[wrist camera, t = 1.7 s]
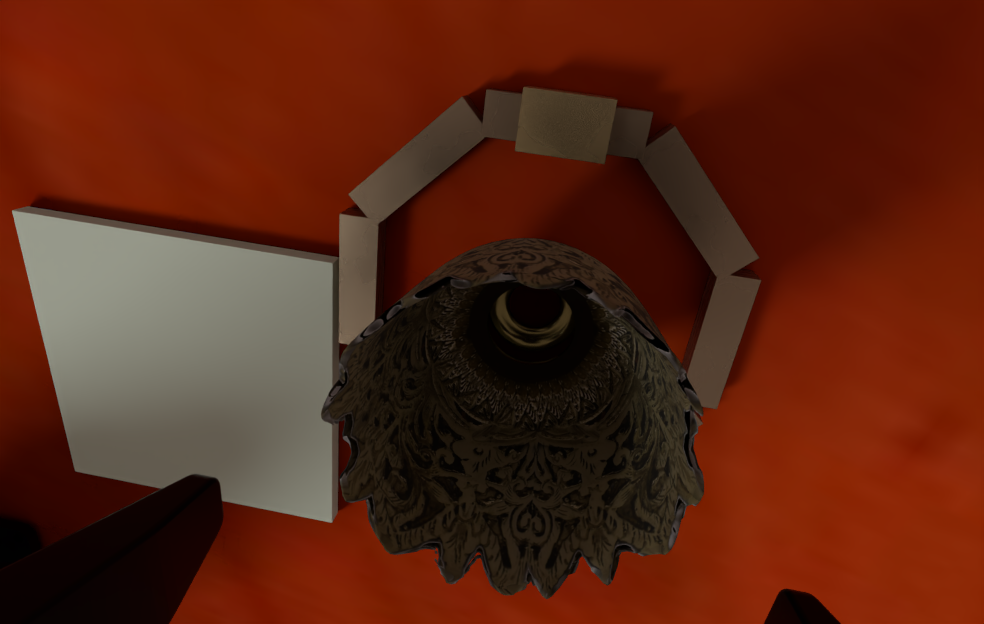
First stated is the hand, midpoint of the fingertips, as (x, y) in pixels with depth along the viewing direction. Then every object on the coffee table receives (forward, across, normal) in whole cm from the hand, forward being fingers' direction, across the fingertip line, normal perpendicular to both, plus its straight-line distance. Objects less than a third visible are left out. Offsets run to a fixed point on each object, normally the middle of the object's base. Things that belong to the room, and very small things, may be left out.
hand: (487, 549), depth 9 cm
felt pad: (+10, +12, +5) cm, 16 cm away
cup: (+10, 0, 0) cm, 10 cm away
